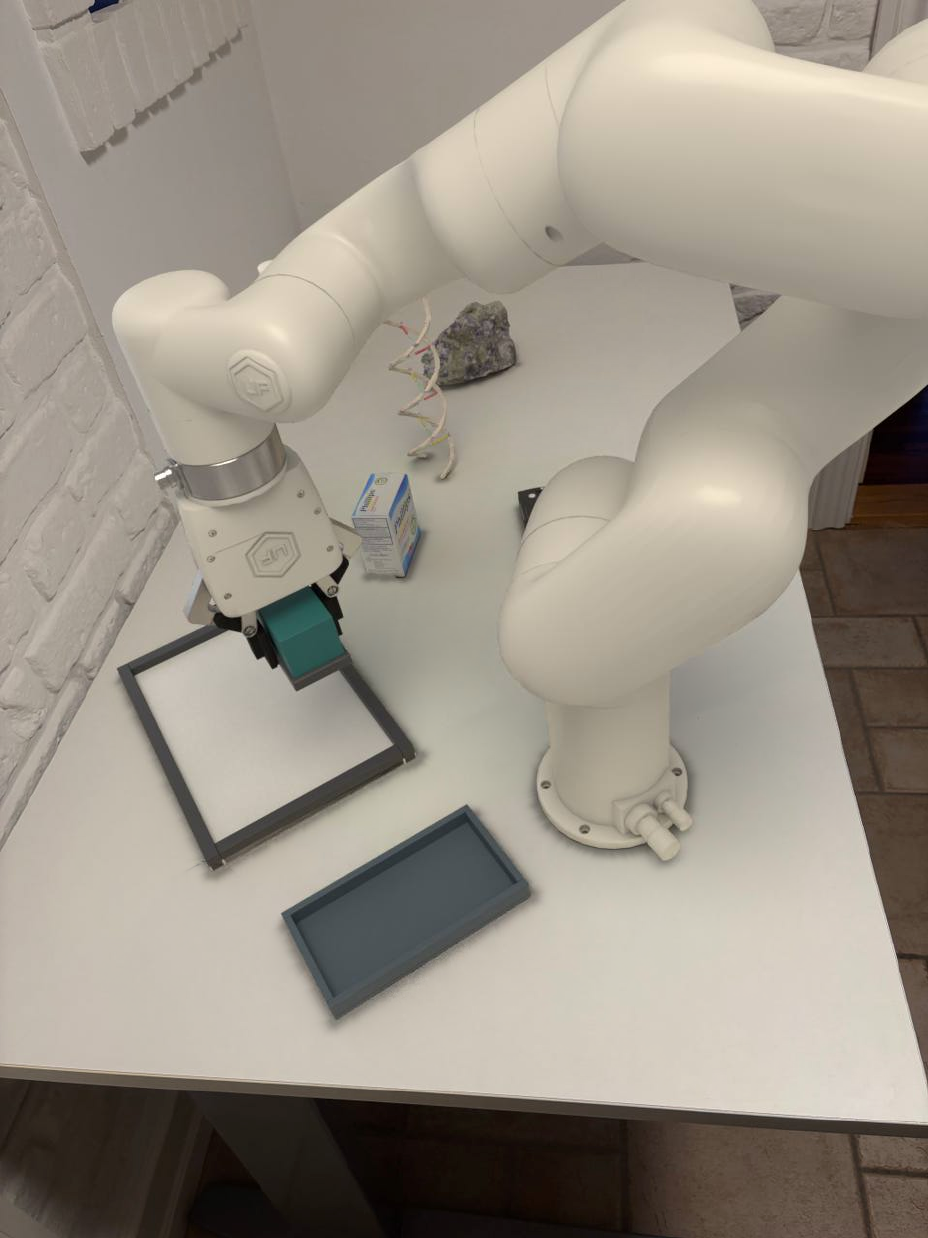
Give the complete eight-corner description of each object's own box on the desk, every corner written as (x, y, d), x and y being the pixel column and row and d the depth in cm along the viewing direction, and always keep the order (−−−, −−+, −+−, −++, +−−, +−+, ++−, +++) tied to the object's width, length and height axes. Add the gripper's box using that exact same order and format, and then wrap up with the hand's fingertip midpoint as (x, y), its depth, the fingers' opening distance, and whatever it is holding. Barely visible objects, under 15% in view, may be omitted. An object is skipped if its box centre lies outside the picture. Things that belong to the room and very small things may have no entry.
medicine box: (405, 578, 105) (389, 516, 99) (366, 577, 106) (349, 515, 100) (421, 533, 110) (408, 471, 104) (384, 532, 111) (369, 471, 105)
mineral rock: (425, 396, 133) (412, 329, 126) (429, 358, 140) (417, 293, 133) (517, 385, 131) (510, 317, 124) (516, 347, 139) (509, 281, 132)
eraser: (353, 663, 76) (337, 617, 72) (296, 692, 74) (277, 647, 71) (305, 597, 82) (289, 552, 79) (252, 623, 81) (233, 579, 78)
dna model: (466, 473, 118) (426, 230, 97) (417, 489, 117) (367, 247, 96) (448, 446, 123) (407, 210, 102) (401, 462, 122) (350, 226, 101)
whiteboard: (416, 757, 86) (413, 745, 85) (212, 872, 81) (205, 860, 79) (295, 596, 105) (291, 584, 104) (122, 679, 99) (116, 668, 98)
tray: (530, 897, 75) (528, 883, 73) (335, 1020, 70) (329, 1008, 68) (470, 817, 81) (467, 803, 80) (287, 925, 76) (280, 913, 75)
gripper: (125, 534, 61) (219, 719, 73) (361, 431, 66) (412, 621, 78) (98, 483, 66) (191, 663, 79) (319, 390, 71) (373, 575, 83)
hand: (300, 641), depth 78 cm, fingers closed on eraser, 5 cm apart
